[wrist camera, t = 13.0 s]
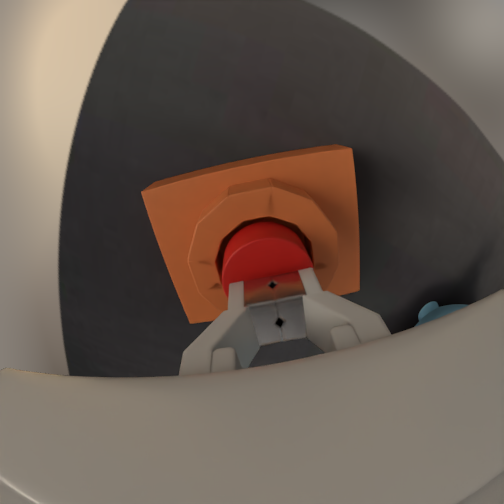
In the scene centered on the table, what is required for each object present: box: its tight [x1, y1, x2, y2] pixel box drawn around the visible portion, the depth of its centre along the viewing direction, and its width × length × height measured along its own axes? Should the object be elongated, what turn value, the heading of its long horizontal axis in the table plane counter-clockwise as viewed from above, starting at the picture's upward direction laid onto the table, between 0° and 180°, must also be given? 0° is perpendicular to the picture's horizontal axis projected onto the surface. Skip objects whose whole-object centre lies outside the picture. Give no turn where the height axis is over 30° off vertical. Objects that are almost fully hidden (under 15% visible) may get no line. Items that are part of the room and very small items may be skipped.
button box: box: [141, 144, 360, 324], centre depth 13 cm, size 10×8×4 cm
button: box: [222, 222, 314, 298], centre depth 11 cm, size 4×4×2 cm
